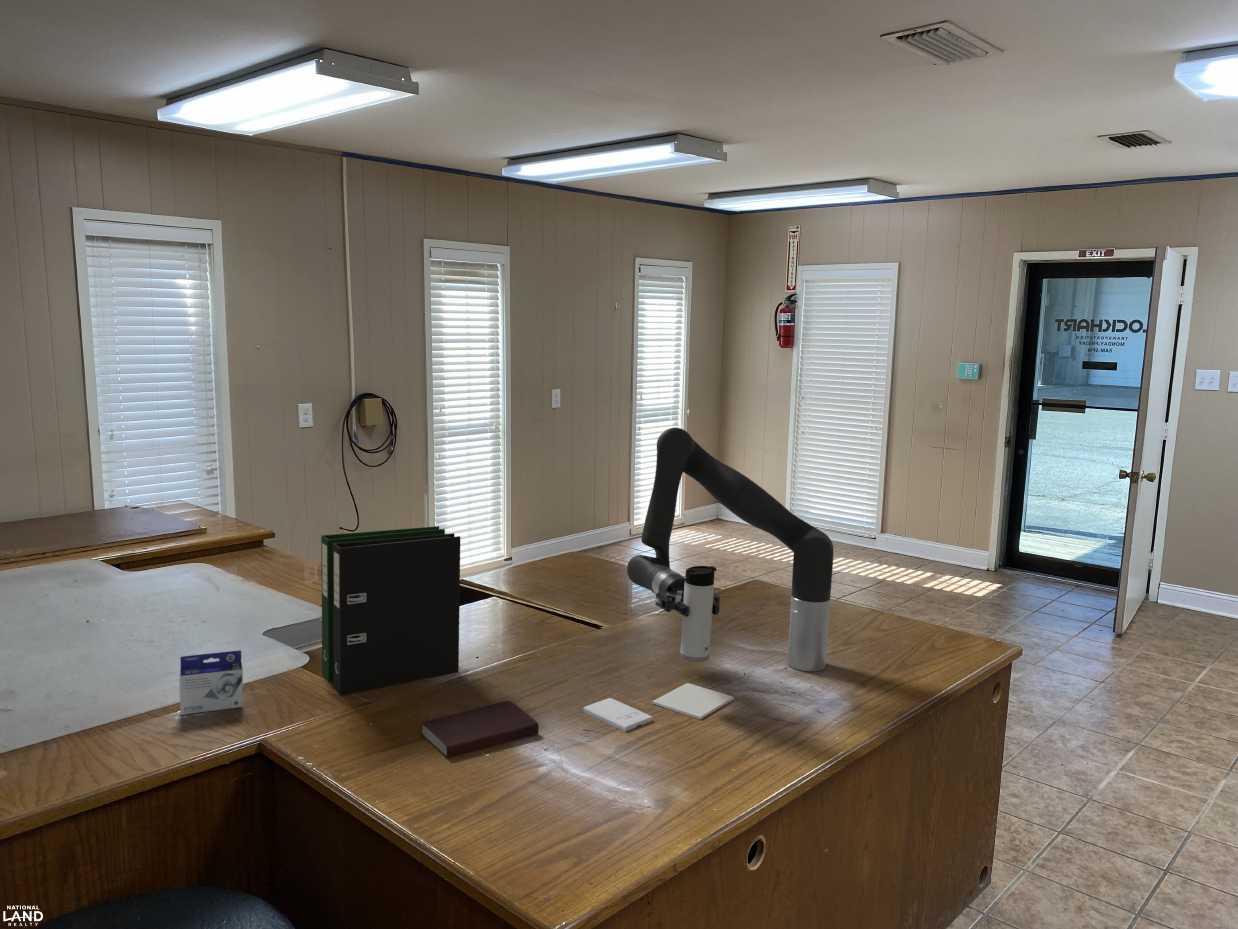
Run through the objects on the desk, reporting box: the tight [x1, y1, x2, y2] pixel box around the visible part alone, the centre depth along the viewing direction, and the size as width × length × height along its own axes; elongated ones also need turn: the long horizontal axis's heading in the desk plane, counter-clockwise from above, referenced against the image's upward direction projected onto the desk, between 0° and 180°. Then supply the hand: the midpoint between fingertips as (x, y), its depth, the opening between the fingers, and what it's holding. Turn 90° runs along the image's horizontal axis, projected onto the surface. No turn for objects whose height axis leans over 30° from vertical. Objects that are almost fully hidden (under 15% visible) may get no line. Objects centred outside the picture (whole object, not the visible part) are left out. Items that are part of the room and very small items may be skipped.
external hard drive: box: [582, 697, 654, 732], centre depth 176 cm, size 2×8×12 cm
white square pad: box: [651, 682, 734, 720], centre depth 185 cm, size 14×12×1 cm
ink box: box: [179, 649, 244, 716], centre depth 171 cm, size 12×2×12 cm, turn 117°
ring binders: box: [320, 525, 461, 697], centre depth 192 cm, size 27×15×32 cm, turn 124°
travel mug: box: [679, 565, 717, 663], centre depth 182 cm, size 6×7×20 cm
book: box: [419, 700, 540, 759], centre depth 165 cm, size 12×19×3 cm, turn 126°
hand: (702, 611), depth 180 cm, fingers closed on travel mug, 6 cm apart
